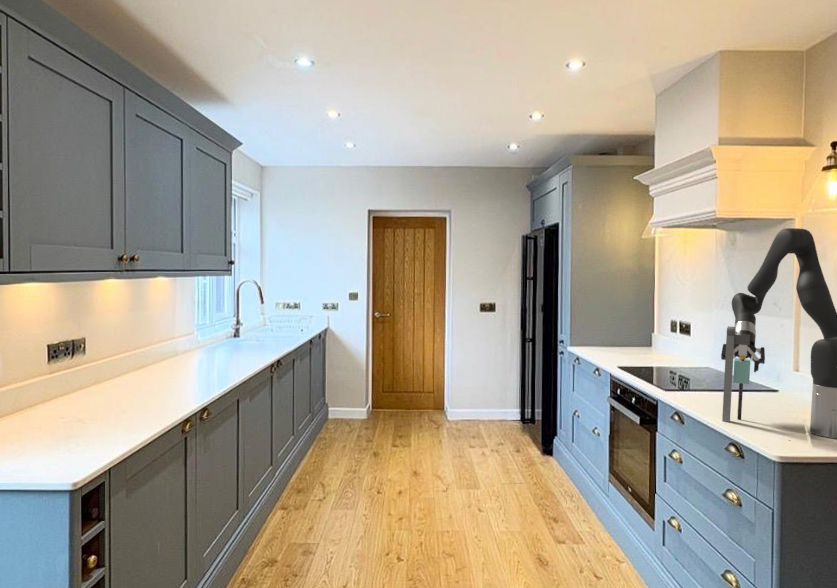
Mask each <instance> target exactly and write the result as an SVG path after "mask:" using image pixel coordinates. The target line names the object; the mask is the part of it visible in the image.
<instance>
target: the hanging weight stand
mask: <svg viewBox="0 0 837 588" xmlns="http://www.w3.org/2000/svg"><path fill="white" fill-rule="evenodd" d="M725 341H726V342H725V344H726V357H725V360H724V379H723V381H724V382H723V396H722V397H723V399H722V418H721V419H722V422H725V423H731V408H732V394H733V393H732V390H733V375H734V359H733V354H734V344H739V354H738V355H739V358H738V359H741V360H740V361H744V359H747V358H746V356H747V345H750V335H746V334H735V326H727V328H726V339H725ZM743 388H744V384H743V383H738V398H737V399H738V400H737V401H738V402H737V403H738V404H737V418H736V419H737V421H742V409H743V408H742V407H743V390H744V389H743Z"/></svg>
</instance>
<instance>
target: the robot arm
mask: <svg viewBox="0 0 837 588" xmlns="http://www.w3.org/2000/svg"><path fill="white" fill-rule="evenodd" d="M788 254H794V255H795V257H796V260H797V262H798V265H799V272H798V278H797V280H796V287H795V288H796V289H795V290H796V293H797V297H798V299H799V302H800V306H801V307H802V308H803V310H804V311H805V312H806V314H807V315H808V316H809V317H810V318H811V319H812V320H813V321H814V322H815V324H816V325H817V327H818V328H819V329H820V331H821V334H822V337H823V339H821V338H820V339H818V340H816V341H815V342H814V343H813V344H812V347H811V349H810V375H811V377H812V389H811V390H812V392H811V406H810V407H811V409H810V426H809V432H810V433H811V434H812V435H816V436H820V437H825V438H830V439H837V309H836V308H835V304H834V301H833V298H832V294H831V293H830V290H829V287H828V284H827V282H826V279H825V277H824V273H823V270H822V266H821V264H820V260H819V256H818V251H817V247H816V243H815V239H814V237H813V234H812V232H811V231H809V229H805V228H798V227H797V228H793V227H792V228H790V227H789V228H783V229H781V230H780V231H779V232H777V233H776V235H775V237H774V239H773V240H772V243H771V246H770V247H769V250H768V251H767V253H766V255H765V257H764V259H763V262H762V264H761V266H760V268H759V269H758V271H757V272H756V274H755V275H754V277H753V278H752V279H751V280H750V282H749V283H748V285H747V291H748V292H749V293H750V294H751V295H750V294H747V293H743V292H738V293H736V294H734V295H733V297H732V300H731V308H732V311H733V315H734V319H735V321H734V327H735V334H746V335H750V345H747V356H746V359H749V360H750V361H751V362H753V363H754V364H753V365H754V367H753V372H754V373H757V372H758V371H759V367H760V364H762V365H764V364H765V363H766V361H765V359H766V353H765V352H766V351H765V350H766V349H765V347H763V346H761V347H760V348H756V337H757V335H756V334H757V331H756V330H757V329H756V326H757V325H756V322H757V321H756V319H757V317H756V315H757V314H758V313H760V311H761V309H762V307H763V303H764V301H765V300H764V299H766V298H765V297H766V295H767V293H768V292H770V289H771V288H772V287H773V286H774V285H775V283H776V281H777V278H778V273H779V271H778V270H779V266H780V264H781V262H782V260H783V259H785V257H786V256H787V255H788ZM752 295H753V296H752ZM756 352H757V354H758V355H760V358H759V357H758V356H757V354H755V353H756ZM738 354H739V344H734V354H733V360H735V358H738V359H739V355H738ZM720 357H721V360H722V361H725V357H726V343H723V345H722V349H721V354H720Z"/></svg>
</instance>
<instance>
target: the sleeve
mask: <svg viewBox="0 0 837 588" xmlns="http://www.w3.org/2000/svg"><path fill="white" fill-rule="evenodd" d="M740 360H741V359H739V358H738V357H736V358H734V359H733V376H732V383H735V384H739V383H743V385H744V384H745V385H750V376H751V375H750V374H751V359H750V358H746V359H744V361H740Z"/></svg>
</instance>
